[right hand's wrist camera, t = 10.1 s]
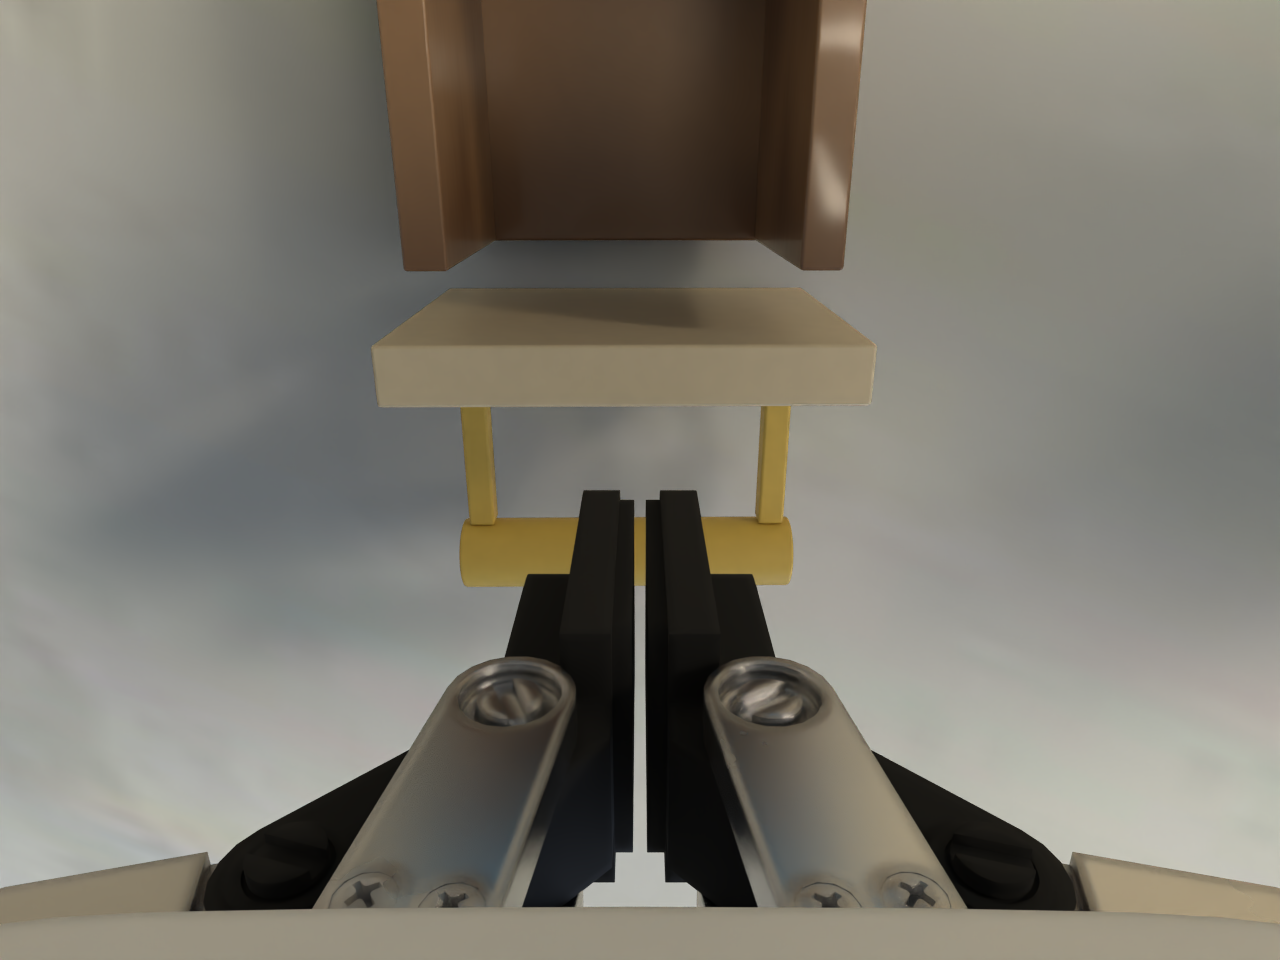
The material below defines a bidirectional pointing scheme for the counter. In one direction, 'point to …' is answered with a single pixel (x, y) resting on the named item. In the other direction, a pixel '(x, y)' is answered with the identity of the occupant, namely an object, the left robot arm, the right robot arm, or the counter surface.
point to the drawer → (622, 229)
